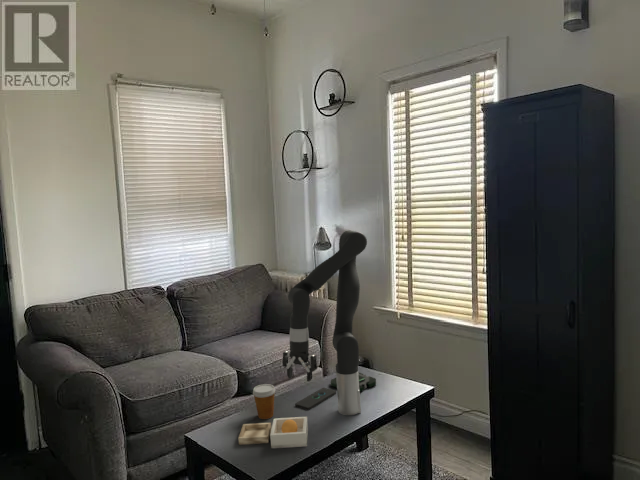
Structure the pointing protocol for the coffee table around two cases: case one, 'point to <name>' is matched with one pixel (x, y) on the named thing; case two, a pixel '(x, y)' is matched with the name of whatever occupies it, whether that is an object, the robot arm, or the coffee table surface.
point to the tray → (255, 433)
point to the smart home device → (315, 398)
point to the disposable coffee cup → (264, 400)
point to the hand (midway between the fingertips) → (299, 379)
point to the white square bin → (290, 438)
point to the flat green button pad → (363, 381)
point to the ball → (289, 426)
